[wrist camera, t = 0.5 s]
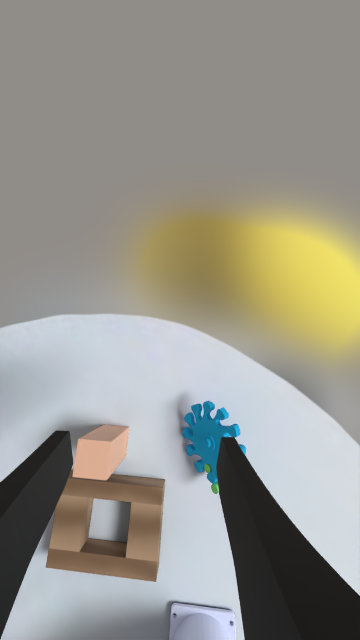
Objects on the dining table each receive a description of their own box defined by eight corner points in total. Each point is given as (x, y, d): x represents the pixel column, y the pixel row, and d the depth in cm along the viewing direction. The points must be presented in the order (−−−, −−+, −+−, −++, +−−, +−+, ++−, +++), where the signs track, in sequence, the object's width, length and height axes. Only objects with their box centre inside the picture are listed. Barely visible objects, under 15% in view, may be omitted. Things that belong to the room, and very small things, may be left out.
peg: (126, 456, 33) (106, 480, 26) (99, 453, 34) (72, 476, 26) (129, 426, 34) (111, 441, 27) (103, 424, 35) (78, 438, 27)
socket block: (158, 565, 30) (155, 581, 28) (57, 552, 31) (45, 567, 29) (165, 479, 32) (162, 487, 30) (70, 469, 33) (61, 477, 31)
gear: (178, 398, 33) (236, 410, 26) (204, 391, 37) (261, 400, 30) (181, 478, 32) (243, 514, 25) (208, 462, 36) (268, 489, 29)
